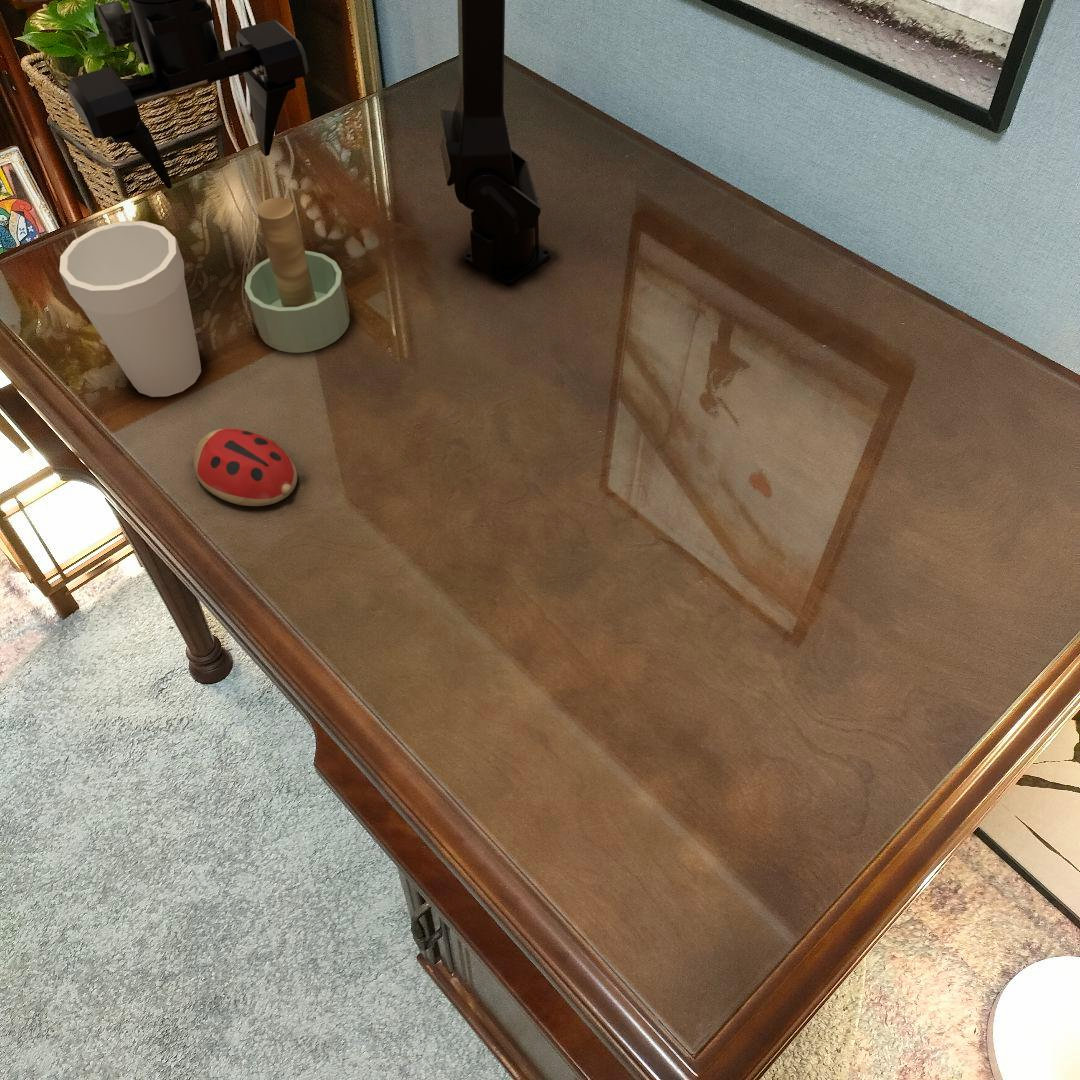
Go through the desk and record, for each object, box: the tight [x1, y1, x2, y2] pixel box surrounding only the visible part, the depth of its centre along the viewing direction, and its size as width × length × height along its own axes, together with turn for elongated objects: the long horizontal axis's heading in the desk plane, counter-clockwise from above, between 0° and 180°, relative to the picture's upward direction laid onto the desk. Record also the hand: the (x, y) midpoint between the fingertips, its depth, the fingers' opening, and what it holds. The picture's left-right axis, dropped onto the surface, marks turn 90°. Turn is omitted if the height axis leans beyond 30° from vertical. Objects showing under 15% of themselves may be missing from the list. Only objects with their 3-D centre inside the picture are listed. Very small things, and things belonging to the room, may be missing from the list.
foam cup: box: [59, 220, 202, 398], centre depth 89 cm, size 10×9×13 cm
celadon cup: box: [244, 250, 351, 354], centre depth 96 cm, size 9×9×5 cm
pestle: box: [256, 197, 316, 307], centre depth 93 cm, size 3×3×12 cm
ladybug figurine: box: [193, 428, 298, 507], centre depth 84 cm, size 7×10×4 cm
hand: (217, 169), depth 91 cm, fingers open, 9 cm apart
